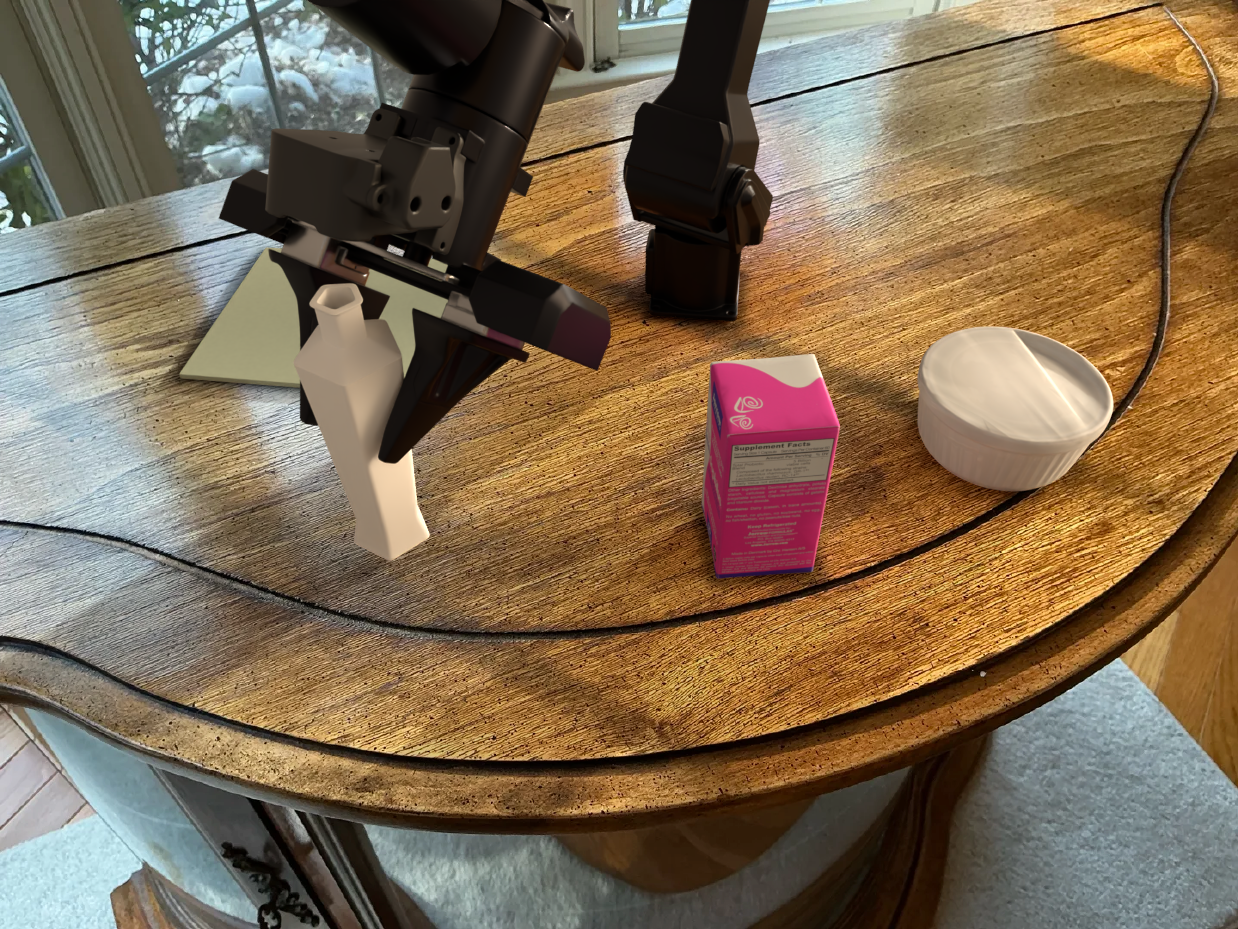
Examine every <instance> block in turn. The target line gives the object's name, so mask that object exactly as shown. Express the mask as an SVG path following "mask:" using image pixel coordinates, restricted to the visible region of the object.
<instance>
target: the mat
mask: <svg viewBox="0 0 1238 929" xmlns="http://www.w3.org/2000/svg"><path fill="white" fill-rule="evenodd" d="M269 249H272V250H275V251H277V252H280V253H281V250H282V247H264V249H263V251H262V252H261V254H260V255H259V257H258V258H257V259H256V261H255V263H254V264H253V265H252V267H251V268H250V270H249V272H248V273H247V274H246V276H245V277H244V278H243V279H242V282H241V283H240V284H239V285H238V287H237V289H236V290H235V292H234V293H233V294H232V296H231V297H230V299H229V300H228V301H227V303H226V305H225V306H224V308H223V309H222V310H221V312H220V314H218V317H216V319H215V320H214V322H213V324H212V325H211V327H210V328H209V329H208V331H207V333H206V334H205V335H204V337H203V338H202V340H201V342H200V343H199V344H198V346H197V347H196V348H195V350H194V351H193V353H192V355H191V356H190V357H189V359H188V360H187V362H186V363H185V365H184V366H183V368H182V369H181V371H180V372H179V374H178V375H179V377H180V379H184V380H196V381H208V382H209V381H210V382H221V383H222V382H223V383H235V384H245V385H257V386H259V385H260V386H271V387H285V388H297V389H298V388H299V389H300V378H299V376H298V373H297V371H296V368H295V366H294V363H293V362H294V360H295V358H296V357H297V355H298V354H299V352H300V327H299V315H298V304H297V299H296V296H295V293H294V291H293V289H292V287H291V285H290V283H289V281H288V279H287V278H286V276H285V274H284V272H283V270H282V268H281V267H280V266H279V265H278V264H277V263H274V262H272V261H271V260H270V257H269V252H268V251H269ZM447 266H448V265H446V264H443V263H441V262H439V261H437V260H434V259H432V258H431V259H430V262H429V265H428V267H431V268H433V269H436V270H438V271H441V272H444V273H445V271H446V269H447ZM369 272H370V274H369V277H368V279H367V282H366V285H365V286H367V287H370V288H372V289H374V290H377V291H379V292H382V293H384V294H387V295H389V296H390V298H389V300H388V302H387V304H386V306H385V308H384V310H383V312H382V314H381V316H380V318H379V319H383V320H386V322H387V323H388V325H389V328H390V330H391V332H392V334H393V336H394V338H395V341H396V343H397V345H398V347H399V349H400V352H401V354H402V363H403V372H404V378H405V375H406V372H407V370H408V367H409V365H410V362H411V359H412V357H413V354H414V351H415V338H414V328H413V319H412V309H413V308H415V309H418V310H421V311H423V312H426V313H429V314H431V315H434V316H437V317H439V318H441V316H442V313H443V311H444V308H445V305H446V303H447V302H448V300H447V299H444V298H442V297H439V296H437V295H434V294H432V293H429V292H427V291H424V290H422V289H419V288H417V287H414V286H412V285H409V284H407V283H404V282H402V281H399V280H397V279H394V278H392V277H389V276H387V275H384V274H382V273H379V272H376V271H374V270H371V269H369Z"/></svg>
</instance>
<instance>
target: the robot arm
mask: <svg viewBox="0 0 1238 929" xmlns="http://www.w3.org/2000/svg"><path fill="white" fill-rule="evenodd" d="M306 1H307V2H308V3H309V4H311V5H312V6H313V7H315V8H316V9H317V10H319V11H320V12H321V13H323V15H326V16H327V17H328V18H329V19H331V20H332V21H333V22H335V23H336V24H338V25H339V26H340V27H341V28H343V29H344V30H345V31H347V32H348V33H349V34H351V36H354V37H355V38H356V39H358V41H360V42H361V43H363V44H364V45H365V46H367V47H369V49H371V50H373V51H374V52H375V53H376V54H377V55H379V56H380V57H382V58H383V59H384V60H386V61H387V62H389V63H390V64H391V65H392V66H394V67H396V68H397V69H399V70H400V71H402V72H403V73H406V74H409V75H412V79H411V81H410V84H409V86H408V89H407V91H406V94H405V97H404V99H403V102H402V105H401V107H398V106H394V105H390V104H388V103H385V102H381V103H380V106H379V108H376V109H375V110H374V111H373V112H372V114H371V117H370V120H369V121H368V124H367V127H366V129H365V131H364V132H363V133H353V132H352V133H351V132H346V131H341V130H340V131H339V130H338V131H337V130H326V129H325V130H324V129H323V130H322V129H301V128H272V129H271V131H270V143H269V157H268V168H267V169H268V170H267V173H266V172H262V171H260V170H257V169H255V168H252V169H249V170H248V171H247V172H244V173H243V174H241V175H240V176H238V177H236V178H234V179H232V180H231V181H230V182H231V183H230V184H229V187H228V191H227V193H226V196H225V199H224V202H223V205H222V207H221V210H220V213H219V216H218V219H219V220H221V221H224V222H226V223H229V224H232V225H234V226H236V227H237V228H238V227H239V228H240V229H243V230H245V231H248V232H251V233H252V234H256V235H258V236H261V237H263V238H265V239H269V240H272V241H274V242H277V243H280V244H282V247H281V248H282V250H281V253H280V252H277V251H275V250H272V249H269V251H268V252H269V257H270V260H271V261H272V262H274V263H277V264H278V265H279V266H280V267H281V268H282V270H283V272H284V274H285V276H286V278H287V279H288V281H289V283H290V285H291V287H292V289H293V291H294V293H295V296H296V299H297V304H298V315H299V327H300V351H301V349H302V348H303V346H304V345H305V343H306V342H307V340H308V339H309V337H310V336H311V334H312V333H313V331H314V330H315V328H316V327H317V326H318V325H319V323H318V320H317V316H316V312H315V309H314V308H312V307H311V306H310V304H309V303H310V301H311V300H312V298H313V297H314V295H315V294H316V292H317V291H318V290H319V288H320V287H321V286H323V285H329V284H347V283H352V284H355V285H356V286H357V287H358V289H359V292H360V294H361V296H362V298H363V302H362V303H361V309H362V313H363V318H364V320H373V319H379V318H380V316H381V314H382V312H383V310H384V308H385V306H386V304H387V302H388V300H389V298H390V296H389V295H387V294H384V293H382V292H379V291H377V290H374V289H372V288H370V287H367V286H365V285H366V282H367V279H368V277H369V274H370V272H369V269H371V270H374V271H376V272H379V273H382V274H384V275H387V276H389V277H392V278H394V279H397V280H399V281H402V282H404V283H407V284H409V285H412V286H414V287H417V288H419V289H422V290H424V291H427V292H429V293H432V294H434V295H437V296H439V297H442V298H444V299H447V300H448V302H447V303H446V305H445V308H444V311H443V313H442V316H441V318H439V317H437V316H434V315H431V314H429V313H426V312H423V311H421V310H418V309H415V308H413V309H412V319H413V328H414V338H415V351H414V354H413V357H412V359H411V362H410V365H409V367H408V370H407V372H406V375H405V378H404V380H403V383H402V386H401V388H400V391H399V393H398V396H397V399H396V401H395V404H394V406H393V409H392V412H391V414H390V417H389V419H388V422H387V425H386V427H385V431H384V434H383V438H382V442H381V446H380V450H379V454H378V459H379V460H380V461H382V462H384V463H390V464H396V463H398V462H399V461H400V460H401V459H402V458H403V457H404V456H405V455H406V454H407V453H408V452H409V451H410V450H411V449H414V447H415V446H416V445H417V444H418V443H419V442H420V441H422V439H423V438H424V437H425V436H426V435H427V434H428V433H429V432H430V431H431V430H433V429H434V427H435V426H436V425H437V424H438V423H439V422H440V421H441V420H442V419H443V418H444V417H445V416H446V415H447V414H448V413H449V412H450V411H451V410H452V409H454V408H455V407H456V406H457V404H458V403H460V402H461V401H462V400H463V399H464V398H465V397H466V396H467V395H468V394H470V393H471V392H472V391H474V389H476V388H477V387H478V386H479V385H481V384H482V383H483V382H484V381H486V380H487V379H488V378H490V377H491V376H492V375H493V374H494V373H496V372H497V371H499V369H501V368H502V367H503V366H505V364H507V363H508V362H509V361H511V360H515V361H517V362H521V363H524V364H526V363H527V362H528V360H529V358H530V356H531V353H530V352H528V351H527V350H523V349H524V348H525V345H526V344H527V345H530V346H533V347H535V348H537V349H540V350H543V351H545V352H547V353H550V354H553V355H555V356H558V357H561V358H563V359H566V360H568V361H570V362H573V363H576V364H578V365H581V366H583V367H586V368H588V369H590V370H593V371H596V372H599V369H600V366H601V364H602V361H603V358H604V356H605V353H606V351H607V348H608V346H609V343H610V341H611V339H612V325H611V324H612V323H611V319H610V315H609V311H608V308H607V307H606V306H605V305H603V304H601V303H600V302H597V301H596V300H595V299H592V298H591V297H589V296H586V295H585V294H583V293H582V292H580V291H577V290H576V289H574V288H573V287H571V286H568V285H567V284H565V283H562V282H560V281H558V280H554V279H552V278H549V277H546V276H545V275H541V274H538V273H535V272H533V271H530V270H527V269H524V268H522V267H520V266H517V265H513V264H511V263H509V262H505V261H504V260H502V258H499V257H497V256H496V255H494V254H492V253H490V252H489V249H490V246H491V244H492V241H493V239H494V236H495V233H496V231H497V228H498V225H499V223H500V220H501V217H502V215H503V212H504V210H505V207H506V205H507V202H508V199H509V197H510V194H511V193H512V194H515V195H518V196H521V197H524V198H526V197H527V194H528V192H529V189H530V186H531V184H532V181H533V179H534V176H533V175H532V174H530V173H529V171H527V170H525V169H524V168H522V167H521V166H522V162H523V161H524V158H525V156H526V152H527V150H528V147H529V144H530V142H531V139H532V137H533V134H534V131H535V129H536V127H537V123H538V121H539V118H540V116H541V113H542V111H543V108H544V105H545V103H546V101H547V97H548V95H549V93H550V89H551V87H552V84H553V83H554V82H553V81H554V79H555V77H556V74H557V72H558V69H559V68H562V69H565V70H569V71H573V72H577V73H579V72H581V71H583V69H584V67H585V63H586V59H585V58H586V57H585V51H584V50H585V49H584V45H583V43H582V41H581V39H580V37H579V34H578V32H577V29H576V24H575V12H574V10H573V9H572V8H571V7H567V6H563V5H560V4H555V3H551V2H547V1H544V0H306ZM770 2H771V0H690V3H689V8H688V12H687V15H686V16H687V17H686V21H685V26H684V30H683V35H682V40H681V44H680V49H679V54H678V59H677V63H676V66H675V71H674V75H673V78H672V80H671V81H670V82H669V83H668V85H666V87H664V88H663V89H662V91H661V92H660V93H659V95H657V97H656V98H655V99H654V100H653V101H652V102H649V101H643V102H642V103H641V104H640V105H639V107H638V109H637V110H636V112H635V114H634V119H633V120H634V121H633V128H632V135H631V140H630V144H629V148H628V151H627V153H626V156H625V158H624V161H623V167H622V168H623V169H622V180H623V184H624V189H625V193H626V196H627V200H628V204H629V207H630V211H631V216H632V219H633V221H635V222H639V223H641V222H642V223H645V224H649V225H651V226H654V228H650V229H649V231H648V234H647V240H646V246H645V261H644V262H645V263H644V264H645V266H644V267H645V268H644V269H645V270H644V293H645V294H646V295H647V296H650V298H649V305H648V314H649V315H650V316H652V317H661V318H675V319H687V320H688V319H689V320H700V321H701V320H703V321H704V320H705V321H717V322H735V321H736V320H737V319H738V311H739V296H740V295H739V294H740V277H741V276H740V275H741V262H742V261H741V260H742V253H743V252H742V251H743V249H745V247H748V248H749V247H753V246H758V245H760V244H761V243H762V242H763V240H764V232H765V227H766V225H767V223H768V220H769V219H770V217H771V208H772V204H773V200H774V195H773V194H772V193H771V191H770V190H769V189H768V187H767V186H766V184H765V183H764V182H763V181H762V178H761V177H760V176H759V175H758V174H757V172H756V164H757V159H758V155H759V149H760V142H761V141H760V137H759V133H758V128H757V126H756V125H757V124H756V123H755V122H756V121H755V118H754V114H753V111H752V108H751V103H750V99H749V96H748V92H749V88H750V82H751V79H752V75H753V71H754V67H755V63H756V59H757V55H758V50H759V47H760V43H761V38H762V34H763V30H764V27H765V22H766V18H767V14H768V10H769V6H770ZM389 246H391V247H393V248H396V249H398V250H401V251H403V254H402V255H400V254H397V253H395V252H392V251H389V250H388V249H389ZM430 259H434V260H437V261H439V262H441V263H443V264H446V265H448V266H447V269H446V271H445V273H444V272H441V271H438V270H436V269H433V268H431V267H428V265H429V262H430ZM299 420H300V422H301V423H303V424H305V425H307V426H315V427H319V426H318V423H317V421H316V418H315V416H314V413H313V411H312V408H311V406H310V403H309V401H308V398H307V396H306V393H305V391H304V388H303V386H302V383H301V381H300V388H299Z"/></svg>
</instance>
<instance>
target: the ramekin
mask: <svg viewBox="0 0 1238 929" xmlns="http://www.w3.org/2000/svg"><path fill="white" fill-rule="evenodd" d="M916 377H917V378H916V379H917V387H918V401H917V402H918V403H917V404H918V405H917V428H918V434H919V436H920V439H921V441H922V443H923V444H924V447H925V449H926V450H927V451H928V453H929V454H930V455H931V456H932V457H933V459H934V460H935V461H936V462H937V463H938V464H939V465H940V466H942V468H944V469H945V470H946V471H948V472H949V473H951V474H952V475H954V476H956V477H957V478H959V479H961V480H963V481H965V482H967V483H970V484H972V485H975V486H978V487H981V488H984V489H990V490H995V491H999V492H1000V491H1002V492H1024V491H1031V490H1035V489H1038V488H1043V487H1045V486H1047V485H1050V484H1052V483H1053V482H1056V481H1058V480H1059V479H1061V477H1063V476H1065V475H1066V474H1067V472H1068V471H1069V470H1070V469H1071V468H1072V467H1073V466H1074V464H1075V463H1076V462H1077V461H1078V459H1079V458H1080V457H1081V456H1082V454H1083V453H1084V452H1085V451H1086V450H1087V448H1088V447H1089V445H1090V444H1092V443H1093V442H1094V441H1096V440H1097V439H1098V438H1099V437H1100V436H1101V435H1102V434H1103V433H1104V431H1105V430H1106V428H1107V427H1108V425H1109V422H1110V420H1111V417H1112V414H1113V411H1114V397H1113V392H1112V390H1111V388H1110V385H1109V384H1108V382H1107V380H1106V378H1105V377H1104V375H1103V374H1102V373H1101V372H1100V371H1099V369H1098V368H1097V367H1096V366H1094V364H1092V362H1091V361H1089V360H1088V359H1087V358H1086V357H1084V356H1083V355H1082V354H1080V353H1079V352H1078V351H1076V350H1075V349H1073V348H1071V347H1069V346H1067V345H1065V344H1064V343H1062V342H1060V341H1058V340H1056V339H1053V338H1050V337H1048V336H1046V335H1042V334H1039V333H1036V332H1032V331H1029V330H1025V329H1019V328H1014V327H1007V326H993V325H991V326H989V325H987V326H975V327H969V328H968V327H967V328H963V329H960V330H957V331H956V330H955V331H953V332H951V333H948V334H946V335H944V336H942V337H940V338H939V339H937V340H936V341H935V342H933V343H931V345H930V346H929V347H928V348H927V349H926V351H925V352H924V353H923V355H922V357H921V360H920V363H919V367H918V369H917V376H916Z"/></svg>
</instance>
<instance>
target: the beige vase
mask: <svg viewBox="0 0 1238 929" xmlns="http://www.w3.org/2000/svg"><path fill="white" fill-rule="evenodd" d="M362 302H363V298H362V296H361V294H360V292H359V289H358V287H357V286H356V285H355V284H352V283H347V284H329V285H323V286H321V287H320V288H319V290H318V291H317V292H316V294H315V295H314V297H313V298H312V300H311V301H310V303H309V304H310V306H311V307H312V308H314V309H315V312H316V316H317V320H318V323H319V325H318V326H317V327H316V328H315V330H314V331H313V333H312V334H311V336H310V337H309V339H308V340H307V342H306V343H305V345H304V346H303V348H302V349H301V351H300V352H299V354H298V355H297V357H296V358H295V360H294V362H293V363H294V366H295V368H296V371H297V373H298V376H299V378H300V381H301V383H302V386H303V388H304V391H305V393H306V396H307V398H308V401H309V403H310V406H311V408H312V411H313V413H314V416H315V418H316V421H317V423H318V426H317V427H318V428H319V431H320V434H321V435H322V438H323V441H324V443H325V446H326V448H327V450H328V453H329V455H330V458H331V461H332V463H333V465H334V468H335V470H336V473H337V475H338V478H339V480H340V483H341V485H342V488H343V490H344V493H345V496H346V498H347V501H348V503H349V506H350V508H351V510H352V512H353V515H354V518H355V527H354V537H353V542H354V544H355V545H357V546H359V547H360V548H362V549H365V550H366V551H369V552H370V553H373V554H374V555H377V556H379V557H381V558H382V559H384V560H386V561H393V560H395V559H398V558H399V557H400V556H402V555H403V554H405V553H407V552H408V551H410V550H412V549H414V548H415V547H417V546H418V545H421V543H423V542H424V541H426V540H427V539H429V538H430V535H431V534H430V532H429V529H428V526H427V523H426V521H425V520H424V517H423V514H422V512H421V509H420V506H419V505H418V498H417V489H416V479H415V469H414V460H413V458H414V457H413V450H412V449H413V448H412V449H411V450H410V451H409V452H408V453H407V454H406V455H405V456H404V457H403V458H402V459H401V460H400V461H399V462H398V463H396V464H390V463H384V462H382V461H380V460H379V459H378V454H379V450H380V446H381V442H382V438H383V434H384V431H385V427H386V425H387V422H388V419H389V417H390V414H391V412H392V409H393V406H394V404H395V401H396V399H397V396H398V393H399V391H400V388H401V386H402V383H403V380H404V372H403V363H402V354H401V352H400V349H399V347H398V345H397V343H396V341H395V338H394V336H393V334H392V332H391V330H390V328H389V325H388V323H387V322H386V320H383V319H373V320H364V318H363V313H362V309H361V303H362Z"/></svg>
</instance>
